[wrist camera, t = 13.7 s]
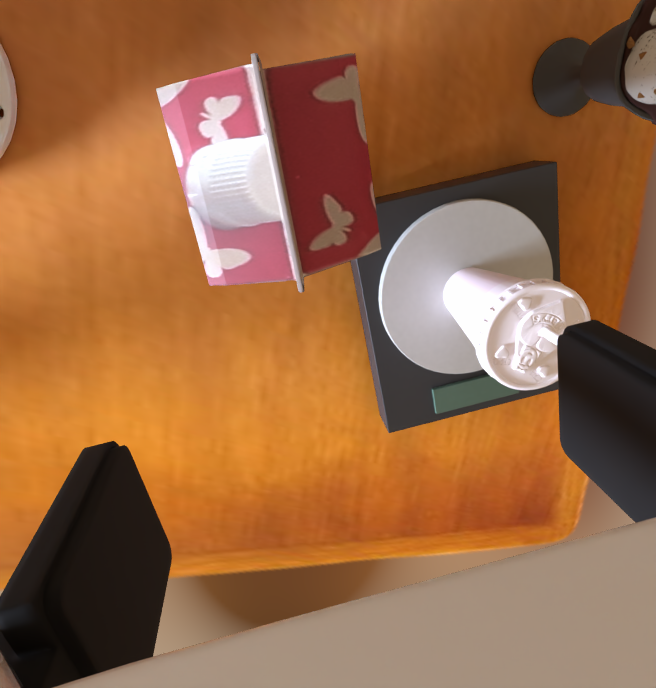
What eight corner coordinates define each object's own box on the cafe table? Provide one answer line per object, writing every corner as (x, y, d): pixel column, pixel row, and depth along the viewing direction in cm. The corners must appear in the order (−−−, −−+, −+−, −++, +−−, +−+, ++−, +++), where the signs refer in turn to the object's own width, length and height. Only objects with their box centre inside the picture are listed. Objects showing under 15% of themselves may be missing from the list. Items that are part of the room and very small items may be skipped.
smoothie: (526, 269, 36) (677, 336, 23) (481, 346, 38) (599, 447, 25) (452, 233, 35) (571, 284, 22) (409, 315, 36) (496, 407, 24)
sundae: (509, 122, 36) (668, 106, 22) (536, 15, 34) (732, -77, 20) (590, 137, 37) (789, 130, 24) (622, 34, 35) (862, -40, 21)
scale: (339, 205, 37) (349, 212, 33) (534, 160, 37) (563, 161, 34) (380, 415, 44) (391, 438, 40) (544, 373, 44) (569, 392, 41)
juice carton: (230, 220, 36) (200, 313, 16) (205, 119, 33) (132, 75, 13) (320, 202, 36) (406, 270, 16) (303, 101, 34) (378, 31, 14)
